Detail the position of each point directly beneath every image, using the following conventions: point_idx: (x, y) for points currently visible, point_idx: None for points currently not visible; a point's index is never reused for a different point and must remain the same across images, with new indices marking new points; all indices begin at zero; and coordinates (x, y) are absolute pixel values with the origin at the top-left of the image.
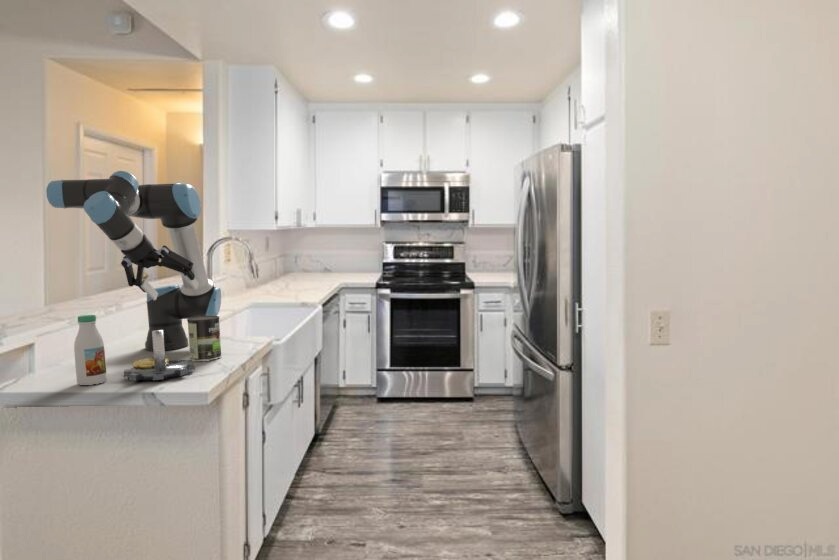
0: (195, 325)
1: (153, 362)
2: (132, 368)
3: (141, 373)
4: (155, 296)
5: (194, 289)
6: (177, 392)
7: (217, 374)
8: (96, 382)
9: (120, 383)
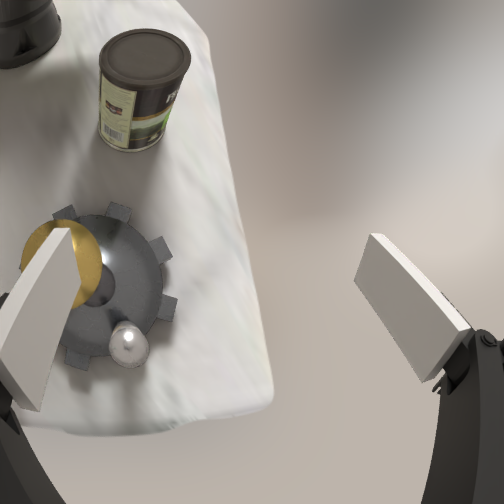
0: (132, 95)
1: None
2: None
3: (90, 355)
4: (72, 275)
5: (357, 284)
6: (225, 416)
7: (231, 275)
8: None
9: None
